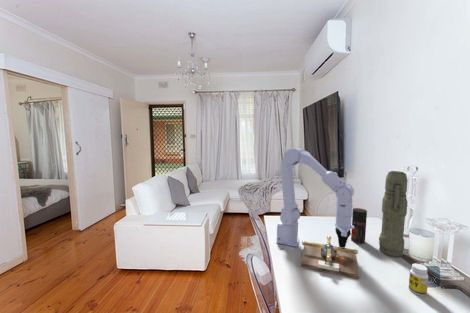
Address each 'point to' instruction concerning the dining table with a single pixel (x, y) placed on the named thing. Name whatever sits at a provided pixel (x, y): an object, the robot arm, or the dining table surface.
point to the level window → (328, 266)
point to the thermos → (393, 214)
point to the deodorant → (359, 225)
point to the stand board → (314, 255)
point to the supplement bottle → (418, 279)
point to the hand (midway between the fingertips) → (342, 246)
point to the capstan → (331, 250)
